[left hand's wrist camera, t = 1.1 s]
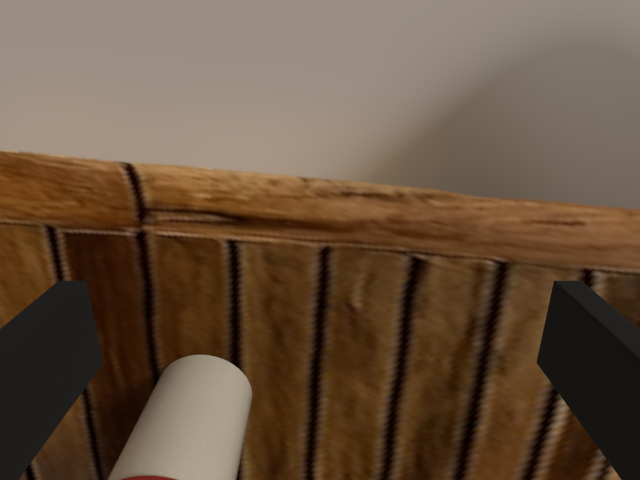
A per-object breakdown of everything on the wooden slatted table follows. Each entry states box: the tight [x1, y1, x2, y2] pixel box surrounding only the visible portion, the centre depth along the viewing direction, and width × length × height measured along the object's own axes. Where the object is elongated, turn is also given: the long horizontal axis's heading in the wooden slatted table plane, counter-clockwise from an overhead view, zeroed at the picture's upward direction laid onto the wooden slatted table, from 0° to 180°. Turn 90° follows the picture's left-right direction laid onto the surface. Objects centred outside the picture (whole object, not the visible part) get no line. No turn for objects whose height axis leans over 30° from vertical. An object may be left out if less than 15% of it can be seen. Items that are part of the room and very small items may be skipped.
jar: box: [107, 355, 252, 480], centre depth 41 cm, size 10×10×17 cm
